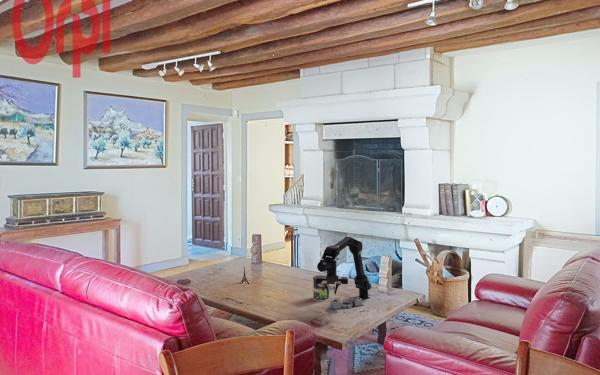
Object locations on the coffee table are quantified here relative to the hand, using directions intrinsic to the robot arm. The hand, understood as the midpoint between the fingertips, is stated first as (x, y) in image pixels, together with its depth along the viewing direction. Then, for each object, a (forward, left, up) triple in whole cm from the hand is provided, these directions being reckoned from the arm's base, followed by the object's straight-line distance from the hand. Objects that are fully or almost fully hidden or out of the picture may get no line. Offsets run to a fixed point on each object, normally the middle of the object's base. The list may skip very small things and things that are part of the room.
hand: (331, 294), depth 268 cm
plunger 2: (-5, +19, -10) cm, 22 cm away
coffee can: (-25, +4, -11) cm, 28 cm away
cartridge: (0, 0, -2) cm, 2 cm away
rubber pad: (0, 0, -11) cm, 11 cm away
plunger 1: (-5, +5, -10) cm, 13 cm away
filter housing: (-5, +12, -11) cm, 17 cm away
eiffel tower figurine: (-81, -31, -11) cm, 88 cm away
